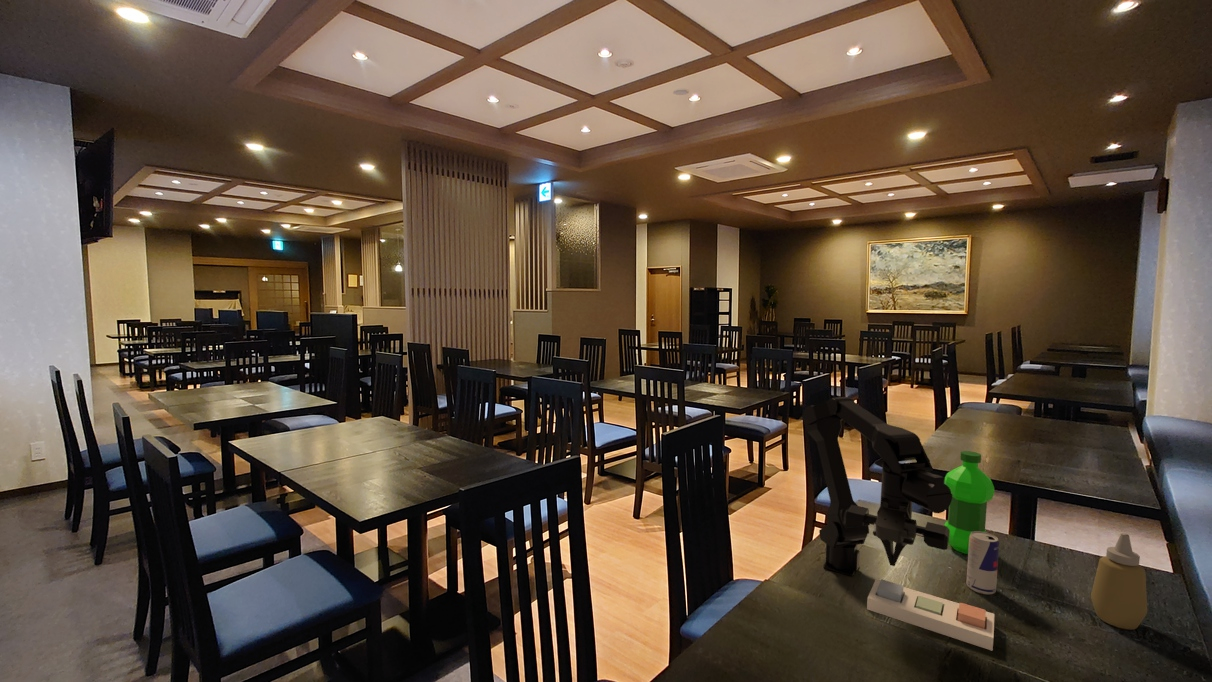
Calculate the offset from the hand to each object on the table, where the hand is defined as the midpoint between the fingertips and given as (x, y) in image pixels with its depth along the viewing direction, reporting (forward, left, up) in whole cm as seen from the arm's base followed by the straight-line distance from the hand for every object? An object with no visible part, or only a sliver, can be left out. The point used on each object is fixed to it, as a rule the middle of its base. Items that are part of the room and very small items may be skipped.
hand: (892, 564), depth 110 cm
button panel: (+7, 0, -9) cm, 11 cm away
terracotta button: (+14, 0, -7) cm, 15 cm away
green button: (+7, 0, -8) cm, 10 cm away
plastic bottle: (+11, +38, -9) cm, 40 cm away
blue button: (0, 0, -7) cm, 7 cm away
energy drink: (+15, +19, -9) cm, 26 cm away
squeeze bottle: (+37, +21, -9) cm, 43 cm away
